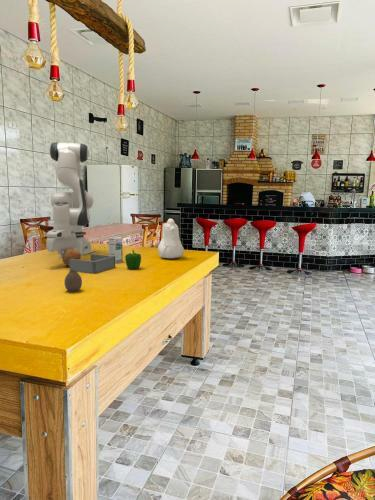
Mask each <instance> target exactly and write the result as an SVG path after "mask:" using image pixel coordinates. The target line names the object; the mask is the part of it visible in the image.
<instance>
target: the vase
mask: <svg viewBox="0 0 375 500" xmlns="http://www.w3.org/2000/svg"><path fill="white" fill-rule="evenodd" d="M82 285H83V280H82V276H81V275H80V274H79V272H77V271H76V270H75V269H71V270H70V269H69V271H68V273H67V274H66V275H65V278H64V287H65V289H66V290H67V291H68V292H70V293H75V292H79V291H80V290H81V288H82Z"/></svg>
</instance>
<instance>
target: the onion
mask: <svg viewBox="0 0 375 500" xmlns="http://www.w3.org/2000/svg"><path fill="white" fill-rule="evenodd" d="M61 259H62V260H61V261H62V262H63V264H64V265H66V266H67V267H70V261H69V259H78V260H82V255H80V253H79V251H78V250H76V249H74V248H68V249H66V250H65V251H64V253H63V255H62V258H61Z"/></svg>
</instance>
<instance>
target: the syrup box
mask: <svg viewBox="0 0 375 500" xmlns="http://www.w3.org/2000/svg"><path fill="white" fill-rule="evenodd" d="M107 239H108V243H107V244H108V246H107V247H108V256H115V264H119V263H122V262H124V261H123V260H124V259H123V257H124V256H123V253H124V252H123V237H121V236H111V237H108V238H107Z"/></svg>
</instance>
